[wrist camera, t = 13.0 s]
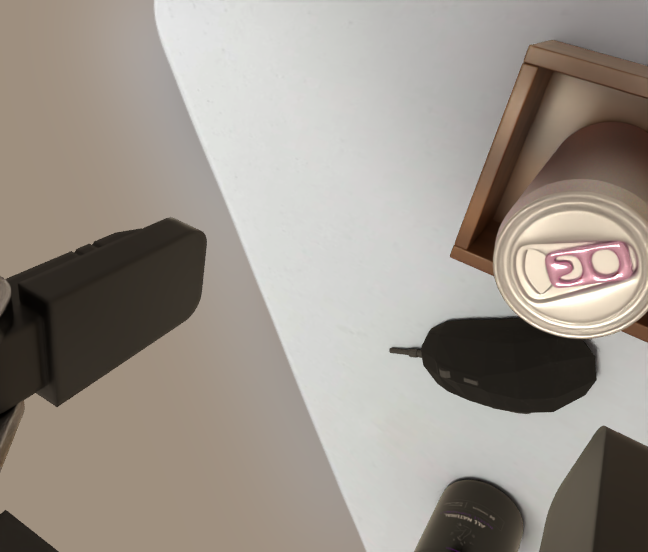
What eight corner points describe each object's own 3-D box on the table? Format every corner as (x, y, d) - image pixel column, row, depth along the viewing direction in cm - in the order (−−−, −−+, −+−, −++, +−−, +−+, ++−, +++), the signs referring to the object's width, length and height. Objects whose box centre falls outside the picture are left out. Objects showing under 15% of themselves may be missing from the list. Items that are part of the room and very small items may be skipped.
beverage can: (676, 211, 31) (686, 336, 19) (562, 232, 34) (509, 350, 22) (656, 104, 29) (652, 166, 17) (539, 138, 33) (468, 208, 21)
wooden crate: (551, 39, 31) (529, 44, 26) (785, 104, 27) (814, 125, 22) (479, 223, 37) (449, 257, 32) (662, 296, 33) (662, 349, 28)
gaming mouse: (384, 313, 43) (362, 336, 40) (594, 316, 36) (587, 346, 32) (398, 383, 45) (378, 411, 42) (600, 401, 37) (594, 437, 34)
